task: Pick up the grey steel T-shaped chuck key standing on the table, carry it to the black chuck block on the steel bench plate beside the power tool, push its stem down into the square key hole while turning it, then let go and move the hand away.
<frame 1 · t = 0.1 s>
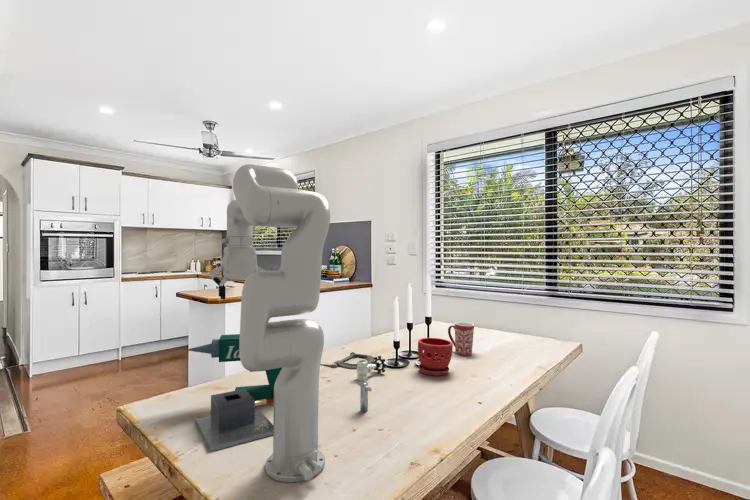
hand: (239, 297, 121), 31 cm above the table, tool pointing down, fingers open, 9 cm apart
chuck block: (232, 423, 104), on the table
power tool: (241, 403, 118), on the table
chuck key: (363, 410, 114), on the table
mug: (460, 353, 178), on the table
c clamp: (349, 364, 161), on the table
valve: (369, 377, 144), on the table
plant pot: (434, 372, 150), on the table
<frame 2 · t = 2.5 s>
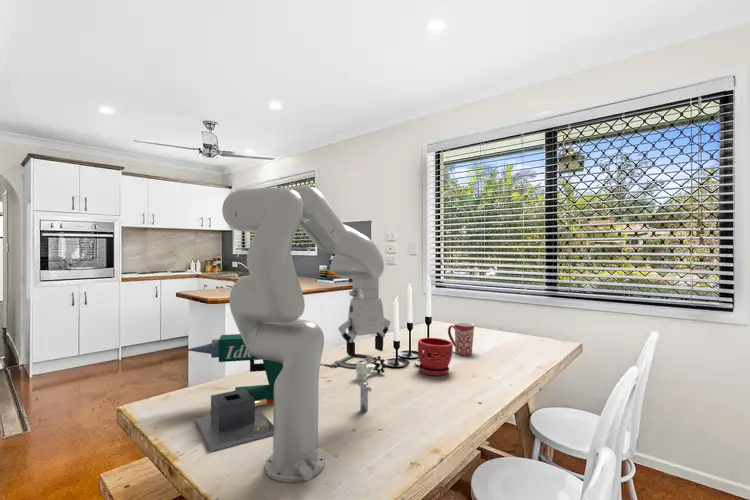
hand: (365, 352, 114), 17 cm above the table, tool pointing down, fingers open, 9 cm apart
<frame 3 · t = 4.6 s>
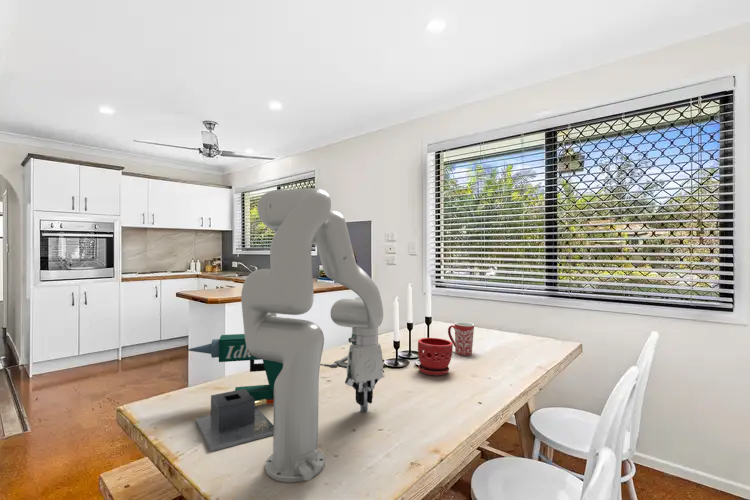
hand: (364, 402, 114), 2 cm above the table, tool pointing down, fingers closed on chuck key, 2 cm apart
chuck key: (364, 410, 114), on the table, touching gripper
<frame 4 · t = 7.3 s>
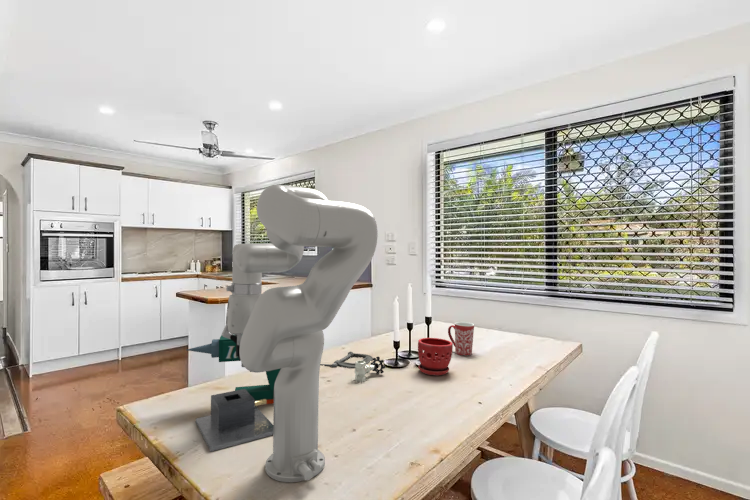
hand: (245, 357, 105), 17 cm above the table, tool pointing down, fingers closed on chuck key
chuck key: (245, 366, 105), point 15 cm above the table, touching gripper
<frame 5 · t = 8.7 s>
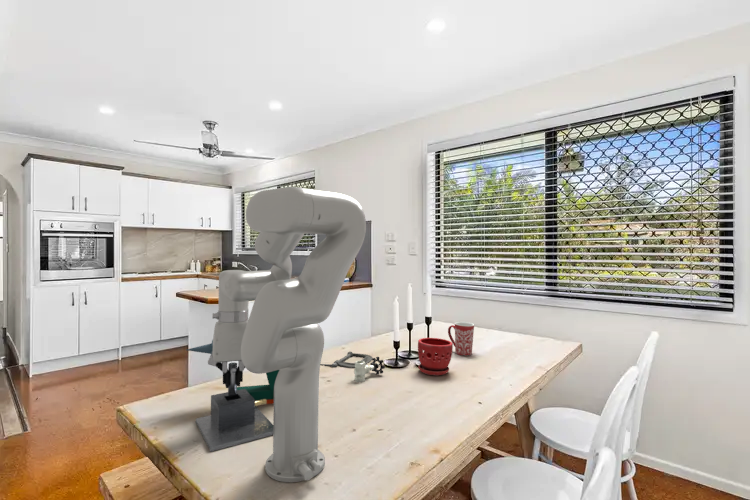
hand: (232, 385, 104), 10 cm above the table, tool pointing down, fingers closed on chuck key
chuck key: (232, 393, 104), point 8 cm above the table, touching gripper
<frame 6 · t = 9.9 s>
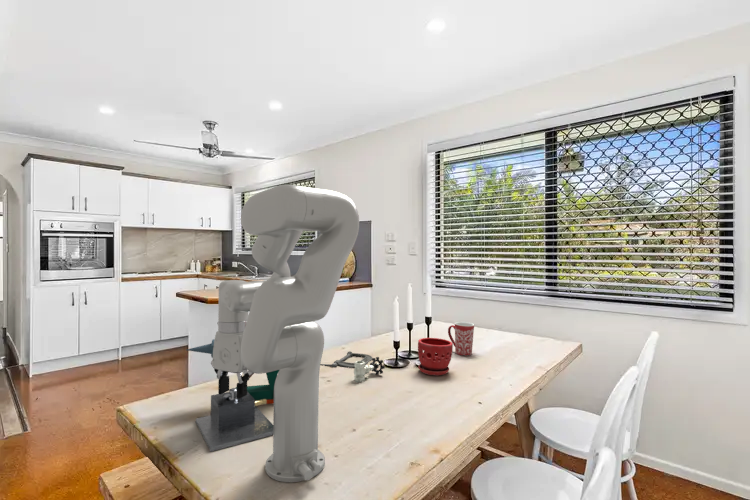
hand: (232, 393, 104), 8 cm above the table, tool pointing down, fingers open, 5 cm apart
chuck key: (232, 419, 104), point 1 cm above the table, touching chuck block
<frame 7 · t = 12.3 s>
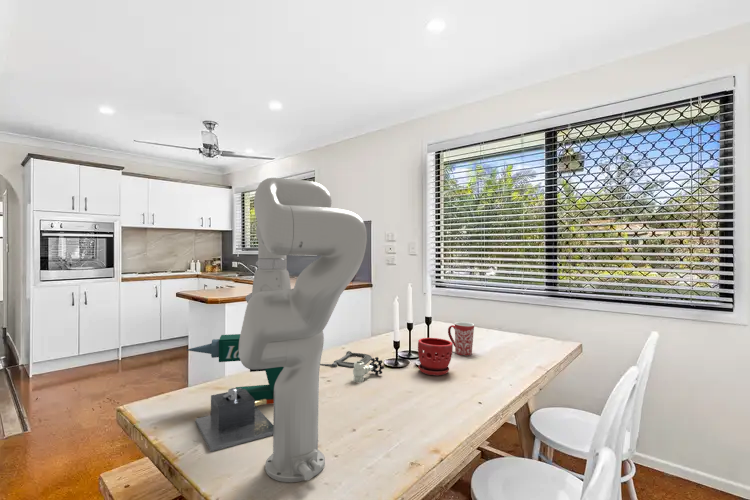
hand: (272, 328, 107), 25 cm above the table, tool pointing down, fingers open, 9 cm apart
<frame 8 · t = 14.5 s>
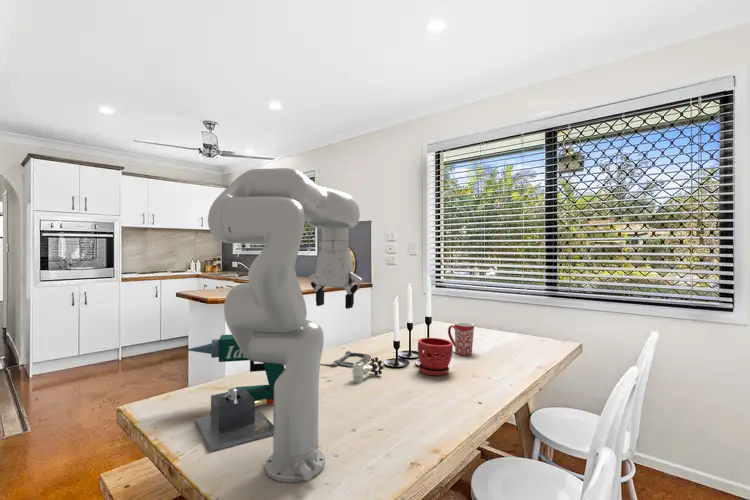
hand: (334, 306, 112), 30 cm above the table, tool pointing down, fingers open, 9 cm apart
at the end: chuck key 0.2 cm off-centre on the chuck block, point 1.0 cm above the chuck block's base; chuck key tilted 0°; the gripper is holding nothing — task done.
